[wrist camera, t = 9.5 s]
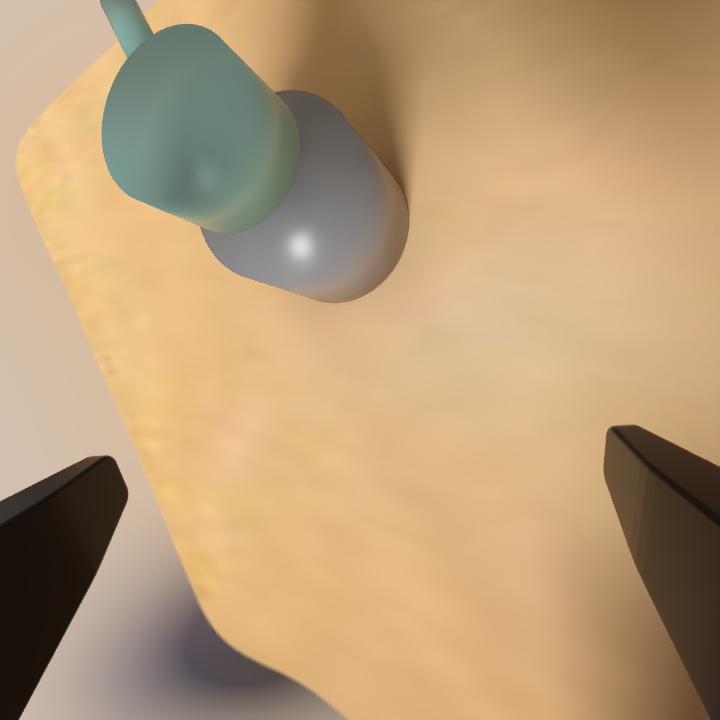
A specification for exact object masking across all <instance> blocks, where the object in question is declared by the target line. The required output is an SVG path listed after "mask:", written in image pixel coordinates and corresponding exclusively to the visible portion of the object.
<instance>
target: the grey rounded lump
mask: <svg viewBox="0 0 720 720" xmlns="http://www.w3.org/2000/svg"><path fill="white" fill-rule="evenodd" d="M275 93H276V94H277V95H278V96H279V97H280V98H281V99H282V100H283V101H284V102H285V104H286V105H287V106H288V108H289V109H290V111H291V112H292V114H293V116H294V118H295V121H296V124H297V127H298V132H299V139H300V155H299V162H298V168H297V171H296V175H295V178H294V180H293V183H292V185H291V188H290V190H289V191H288V193H287V195H286V197H285V198H284V200H283V201H282V203H281V204H280V206H279V207H278V208H277V209H276V210H275V211H274V212H273V213H272V214H271V215H270V216H269V217H268V218H267V219H266V220H264V221H263V222H262V223H260V224H259V225H257V226H255V227H253V228H252V229H249V230H247V231H244V232H240V233H236V234H220V233H216V232H212V231H210V230H207V229H205V228H203V227H201V230H202V233H203V236H204V238H205V241H206V243H207V245H208V246H209V248H210V250H211V251H212V253H213V254H214V255H215V257H216V258H217V259H218V260H219V261H220V262H221V263H222V264H223V265H224V266H225V267H227V268H228V269H230V270H231V271H232V272H234V273H236V274H238V275H241V276H243V277H246V278H249V279H252V280H255V281H259V282H262V283H265V284H268V285H271V286H274V287H277V288H280V289H283V290H286V291H290V292H293V293H296V294H299V295H302V296H305V297H308V298H311V299H314V300H318V301H321V302H327V303H341V302H348V301H351V300H355V299H357V298H360V297H362V296H364V295H366V294H368V293H369V292H371V291H373V290H374V289H375V288H376V287H378V286H379V285H380V284H381V283H382V282H383V281H384V280H385V279H386V278H387V277H388V276H389V275H390V273H391V272H392V271H393V269H394V268H395V266H396V265H397V263H398V261H399V259H400V257H401V255H402V253H403V250H404V247H405V244H406V241H407V235H408V227H409V215H408V207H407V202H406V199H405V196H404V193H403V191H402V189H401V187H400V185H399V184H398V182H397V181H396V179H395V178H394V177H393V175H392V174H391V173H390V172H389V171H388V169H387V168H386V167H385V166H384V165H383V163H382V162H381V161H380V160H379V158H378V157H377V156H376V155H375V154H374V152H373V151H372V150H371V149H370V148H369V146H368V145H367V144H366V143H365V141H364V140H363V139H362V138H361V137H360V135H359V134H358V133H357V132H356V131H355V129H354V128H353V127H352V126H351V124H350V123H349V122H348V121H347V120H346V118H345V117H344V116H343V115H342V114H341V113H340V112H339V111H338V110H337V109H336V108H335V107H334V106H333V105H332V104H331V103H329V102H328V101H326V100H325V99H323V98H321V97H319V96H317V95H315V94H311V93H308V92H303V91H295V90H294V91H281V92H275Z"/></svg>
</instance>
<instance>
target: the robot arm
mask: <svg viewBox="0 0 720 720" xmlns="http://www.w3.org/2000/svg"><path fill="white" fill-rule="evenodd" d="M604 477H605V481H606V484H607V487H608V489H609V492H610V495H611V498H612V501H613V504H614V507H615V509H616V512H617V515H618V518H619V521H620V524H621V527H622V529H623V532H624V535H625V538H626V541H627V544H628V547H629V549H630V552H631V555H632V557H633V560H634V563H635V565H636V567H637V570H638V572H639V574H640V576H641V578H642V581H643V583H644V585H645V587H646V589H647V591H648V593H649V595H650V597H651V599H652V601H653V603H654V605H655V607H656V609H657V611H658V613H659V615H660V618H661V620H662V622H663V624H664V626H665V628H666V630H667V632H668V634H669V636H670V638H671V640H672V642H673V644H674V646H675V648H676V650H677V652H678V655H679V657H680V659H681V661H682V663H683V665H684V667H685V669H686V671H687V673H688V675H689V677H690V679H691V681H692V683H693V685H694V687H695V689H696V692H697V694H698V696H699V698H700V700H701V702H702V704H703V706H704V708H705V710H706V712H707V714H708V716H709V718H710V720H720V467H719V466H717V465H715V464H713V463H711V462H709V461H707V460H705V459H703V458H701V457H699V456H697V455H695V454H693V453H691V452H689V451H687V450H685V449H683V448H681V447H679V446H677V445H675V444H673V443H671V442H669V441H667V440H665V439H663V438H661V437H659V436H657V435H656V434H654V433H652V432H650V431H648V430H646V429H644V428H642V427H639V426H637V425H620V426H611V427H610V428H609V429H608V431H607V434H606V444H605V456H604ZM127 499H128V489H127V486H126V484H125V481H124V479H123V477H122V474H121V472H120V470H119V467H118V465H117V463H116V461H115V459H113V457H111V456H107V455H106V456H91V457H87V458H85V459H83V460H81V461H79V462H78V463H75V464H73V465H71V466H69V467H67V468H65V469H63V470H61V471H59V472H57V473H55V474H53V475H52V476H50V477H48V478H46V479H43V480H42V481H40V482H38V483H36V484H34V485H32V486H30V487H28V488H26V489H24V490H22V491H20V492H18V493H16V494H14V495H12V496H10V497H8V498H6V499H4V500H2V501H0V720H19V719H20V717H21V715H22V713H23V711H24V709H25V707H26V705H27V704H28V702H29V700H30V698H31V696H32V694H33V692H34V690H35V689H36V687H37V685H38V683H39V681H40V679H41V677H42V675H43V673H44V672H45V670H46V668H47V666H48V664H49V662H50V660H51V659H52V657H53V655H54V653H55V651H56V649H57V647H58V646H59V643H60V642H61V640H62V638H63V636H64V634H65V632H66V631H67V628H68V627H69V625H70V623H71V621H72V619H73V617H74V616H75V614H76V612H77V610H78V608H79V606H80V604H81V602H82V600H83V599H84V597H85V595H86V593H87V591H88V589H89V587H90V586H91V583H92V582H93V579H94V578H95V576H96V574H97V571H98V569H99V567H100V565H101V562H102V560H103V558H104V555H105V553H106V551H107V548H108V546H109V543H110V541H111V539H112V536H113V534H114V531H115V529H116V527H117V525H118V522H119V520H120V517H121V515H122V512H123V510H124V508H125V506H126V503H127Z"/></svg>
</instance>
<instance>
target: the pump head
mask: <svg viewBox="0 0 720 720" xmlns="http://www.w3.org/2000/svg"><path fill="white" fill-rule="evenodd" d="M100 3H101V6H102V8H103V10H104V12H105V14H106V16H107V18H108V20H109V22H110V24H111V26H112V28H113V30H114V32H115V35H116V36H117V39H118V41H119V43H120V45H121V47H122V49H123V51H124V53H125V55H126V57H127V60H126V61H125V63H124V64H123V66H122V67H121V69H120V71H119V72H118V74H117V76H116V78H115V80H114V82H113V84H112V87H111V89H110V92H109V95H108V98H107V101H106V105H105V109H104V114H103V121H102V146H103V153H104V157H105V162H106V164H107V167H108V170H109V172H110V174H111V176H112V178H113V179H114V181H115V182H116V184H117V185H118V186H119V187H120V188H121V189H122V190H123V191H124V192H125V193H126V194H128V195H129V196H131V197H132V198H134V199H137V200H139V201H141V202H143V203H146V204H148V205H151V206H153V207H155V208H158V209H160V210H162V211H165V212H167V213H169V214H172V215H174V216H177V217H179V218H181V219H184V220H186V221H188V222H191V223H193V224H195V225H198V226H200V227H203V228H205V229H207V230H210V231H212V232H216V233H220V234H236V233H240V232H244V231H247V230H249V229H252V228H253V227H255V226H257V225H259V224H260V223H262V222H263V221H264V220H266V219H267V218H268V217H269V216H270V215H271V214H272V213H273V212H274V211H275V210H276V209H277V208H278V207H279V206H280V204H281V203H282V201H283V200H284V198H285V197H286V195H287V193H288V191H289V190H290V188H291V185H292V183H293V180H294V178H295V175H296V171H297V168H298V162H299V155H300V139H299V132H298V127H297V124H296V121H295V118H294V116H293V114H292V112H291V111H290V109H289V108H288V106H287V105H286V104H285V102H284V101H283V100H282V99H281V98H280V97H279V96H278V95H277V94H276V93H275V92H274V91H273V90H272V89H271V88H270V87H269V86H268V85H267V84H266V83H265V82H264V81H263V80H262V79H261V78H260V77H259V76H258V75H257V74H256V73H255V72H254V71H253V70H252V69H251V68H250V67H249V66H248V65H247V64H246V63H245V62H244V61H243V60H242V59H241V58H240V57H239V56H238V55H237V54H236V53H235V52H234V51H233V50H232V49H231V48H230V47H229V46H228V45H227V44H226V43H225V42H224V41H223V40H222V39H221V38H220V37H219V36H218V35H216V34H215V33H214V32H212V31H211V30H209V29H207V28H205V27H202V26H198V25H194V24H180V25H174V26H171V27H167V28H165V29H163V30H160V31H158V32H157V33H155V34H153V32H152V30H151V28H150V26H149V24H148V22H147V20H146V18H145V16H144V15H143V13H142V11H141V9H140V7H139V5H138V3H137V1H136V0H100Z"/></svg>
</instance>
